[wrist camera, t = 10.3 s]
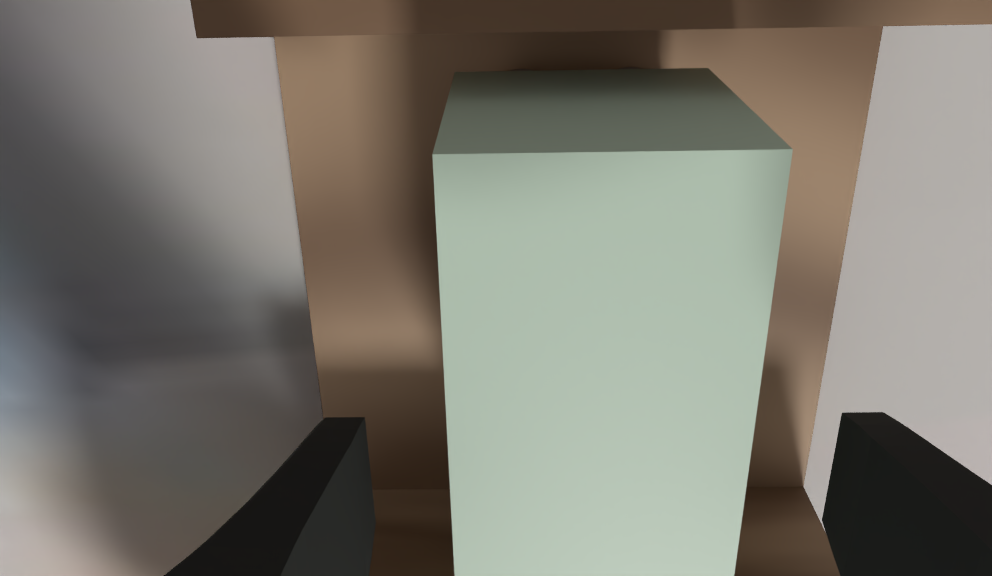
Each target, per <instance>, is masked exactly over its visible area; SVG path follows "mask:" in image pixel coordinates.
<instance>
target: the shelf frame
mask: <svg viewBox="0 0 992 576" xmlns="http://www.w3.org/2000/svg"><path fill="white" fill-rule="evenodd" d="M190 1H191V7H192V12H193V18H194V24H195V30H196V36H197V38H231V37H274V40H275V48H276V56H277V63H278V71H279V79H280V87H281V94H282V102H283V110H284V118H285V125H286V133H287V141H288V149H289V156H290V164H291V172H292V180H293V187H294V195H295V203H296V211H297V218H298V226H299V234H300V242H301V249H302V257H303V265H304V273H305V280H306V288H307V296H308V304H309V311H310V319H311V327H312V335H313V342H314V350H315V358H316V366H317V373H318V381H319V389H320V397H321V404H322V412H323V419H324V418H325V417H365V422H366V432H367V442H368V452H369V461H370V471H371V481H372V491H373V501H374V510H375V520H376V525H375V533H374V541H373V549H372V557H371V564H370V571H369V576H455V575H454V556H453V537H452V518H451V499H450V480H449V461H448V442H447V423H446V404H445V385H444V366H443V347H442V328H441V309H440V290H439V271H438V252H437V233H436V214H435V195H434V175H433V156H432V154H433V150H434V147H435V143H436V139H437V136H438V132H439V128H440V125H441V121H442V117H443V114H444V110H445V106H446V103H447V99H448V95H449V92H450V88H451V84H452V81H453V77H454V73H455V72H480V71H543V70H606V69H669V68H709V69H710V70H711V71H712V72H713V73H714V74H715V75H716V76H717V77H718V78H719V79H720V80H721V81H722V82H723V83H724V84H725V85H726V86H728V87H729V88H730V89H731V90H732V91H733V92H734V93H735V94H736V95H737V96H738V97H739V98H740V99H741V100H742V101H743V102H744V103H745V104H746V105H747V106H748V107H749V108H750V109H751V110H752V111H754V112H755V113H756V114H757V115H758V116H759V117H760V118H761V119H762V120H763V121H764V122H765V123H766V124H767V125H768V126H769V127H770V128H771V129H772V130H773V131H774V132H775V133H776V134H777V135H778V136H780V137H781V138H782V139H783V140H784V141H785V142H786V143H787V144H788V145H789V146H790V147H791V148H792V149H793V152H792V159H791V167H790V174H789V181H788V188H787V196H786V203H785V210H784V217H783V225H782V232H781V239H780V246H779V254H778V261H777V268H776V276H775V283H774V290H773V297H772V305H771V312H770V319H769V326H768V334H767V341H766V348H765V356H764V363H763V370H762V377H761V385H760V392H759V399H758V406H757V414H756V421H755V428H754V436H753V443H752V450H751V457H750V465H749V472H748V479H747V486H746V494H745V501H744V508H743V516H742V523H741V530H740V537H739V545H738V552H737V559H736V566H735V574H734V576H840V573H839V570H838V567H837V565H836V562H835V559H834V556H833V553H832V550H831V547H830V544H829V540H828V537H827V535H826V533H825V531H824V529H823V527H822V524H821V522H820V520H819V518H818V516H817V514H816V512H815V510H814V508H813V506H812V504H811V502H810V500H809V498H808V495H807V493H806V491H805V489H804V487H803V486H804V480H805V474H806V468H807V462H808V457H809V451H810V445H811V439H812V434H813V428H814V422H815V416H816V410H817V405H818V399H819V393H820V387H821V382H822V376H823V370H824V364H825V358H826V353H827V347H828V341H829V335H830V330H831V324H832V318H833V312H834V306H835V301H836V295H837V289H838V283H839V278H840V272H841V266H842V260H843V254H844V249H845V243H846V237H847V231H848V226H849V220H850V214H851V208H852V202H853V197H854V191H855V185H856V179H857V174H858V168H859V162H860V156H861V150H862V145H863V139H864V133H865V127H866V122H867V116H868V110H869V104H870V98H871V93H872V87H873V81H874V75H875V70H876V64H877V58H878V52H879V46H880V41H881V35H882V29H883V26H917V25H974V24H992V0H190Z"/></svg>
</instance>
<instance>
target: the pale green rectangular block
mask: <svg viewBox="0 0 992 576" xmlns="http://www.w3.org/2000/svg"><path fill="white" fill-rule="evenodd" d="M792 152H793V149H792V148H791V147H790V146H789V145H788V144H787V143H786V142H785V141H784V140H783V139H782V138H781V137H780V136H778V135H777V134H776V133H775V132H774V131H773V130H772V129H771V128H770V127H769V126H768V125H767V124H766V123H765V122H764V121H763V120H762V119H761V118H760V117H759V116H758V115H757V114H756V113H755V112H754V111H752V110H751V109H750V108H749V107H748V106H747V105H746V104H745V103H744V102H743V101H742V100H741V99H740V98H739V97H738V96H737V95H736V94H735V93H734V92H733V91H732V90H731V89H730V88H729V87H728V86H726V85H725V84H724V83H723V82H722V81H721V80H720V79H719V78H718V77H717V76H716V75H715V74H714V73H713V72H712V71H711V70H710V69H709V68H669V69H606V70H543V71H480V72H455V73H454V77H453V81H452V84H451V88H450V92H449V95H448V99H447V103H446V106H445V110H444V114H443V117H442V121H441V125H440V128H439V132H438V136H437V139H436V143H435V147H434V150H433V154H432V156H433V175H434V195H435V214H436V233H437V252H438V271H439V290H440V309H441V328H442V347H443V366H444V385H445V404H446V423H447V442H448V461H449V480H450V499H451V518H452V537H453V556H454V575H455V576H734V574H735V566H736V559H737V552H738V545H739V537H740V530H741V523H742V516H743V508H744V501H745V494H746V486H747V479H748V472H749V465H750V457H751V450H752V443H753V436H754V428H755V421H756V414H757V406H758V399H759V392H760V385H761V377H762V370H763V363H764V356H765V348H766V341H767V334H768V326H769V319H770V312H771V305H772V297H773V290H774V283H775V276H776V268H777V261H778V254H779V246H780V239H781V232H782V225H783V217H784V210H785V203H786V196H787V188H788V181H789V174H790V167H791V159H792Z"/></svg>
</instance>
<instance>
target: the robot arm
mask: <svg viewBox="0 0 992 576" xmlns="http://www.w3.org/2000/svg"><path fill="white" fill-rule="evenodd" d="M822 521H823V524H824V528H825V531H826V534H827V537H828V540H829V544H830V547H831V550H832V553H833V556H834V559H835V562H836V565H837V567H838V570H839V573H840V576H992V485H991V484H989V483H988V482H986V481H985V480H983V479H982V478H980V477H979V476H977V475H976V474H974V473H973V472H971V471H970V470H969V469H967V468H966V467H964V466H963V465H961V464H960V463H958V462H957V461H955V460H954V459H953V458H951V457H950V456H948V455H947V454H945V453H944V452H942V451H941V450H940V449H938V448H937V447H935V446H934V445H932V444H931V443H929V442H928V441H927V440H925V439H924V438H922V437H921V436H919V435H918V434H916V433H915V432H913V431H912V430H910V429H909V428H907V427H906V426H904V425H903V424H901V423H900V422H898V421H897V420H895V419H893V418H892V417H890V416H888V415H887V414H885V413H883V412H869V413H842V416H841V421H840V427H839V432H838V437H837V443H836V448H835V453H834V459H833V464H832V470H831V475H830V480H829V486H828V491H827V496H826V502H825V507H824V512H823V518H822ZM375 525H376V520H375V510H374V501H373V491H372V481H371V471H370V461H369V452H368V442H367V432H366V422H365V417H325V418H324V419H323V420H322V421H321V422H320V423H319V424H318V425H317V426H316V427H315V428H314V430H313V431H312V432H311V433H310V434H309V435H308V436H307V438H306V439H305V440H304V441H303V442H302V443H301V444H300V446H299V447H298V448H297V449H296V450H295V451H294V452H293V453H292V455H291V456H290V457H289V458H288V459H287V460H286V461H285V462H284V464H283V465H282V466H281V467H280V468H279V469H278V470H277V471H276V472H275V473H274V474H273V476H272V477H271V478H270V479H269V480H268V481H267V482H266V483H265V484H264V485H263V486H262V487H261V488H260V489H259V490H258V491H257V492H256V493H255V494H254V496H253V497H252V498H251V499H250V500H249V501H248V502H247V503H246V504H245V505H244V506H243V507H242V508H241V509H240V510H239V511H238V512H237V513H235V514H234V515H233V516H232V517H231V518H230V519H229V520H228V521H227V522H226V523H225V524H224V525H223V526H222V527H221V528H220V529H219V530H217V531H216V532H215V533H214V534H213V535H212V536H211V537H210V538H209V539H208V540H207V541H206V542H205V543H203V544H202V545H201V546H200V547H199V548H198V549H197V550H195V551H194V552H193V553H192V554H191V555H189V556H188V557H187V558H186V559H185V560H183V561H182V562H181V563H179V564H178V565H177V566H176V567H174V568H173V569H172V570H171V571H169V572H168V573H167V574H165V575H164V576H369V571H370V564H371V557H372V549H373V541H374V533H375Z"/></svg>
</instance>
